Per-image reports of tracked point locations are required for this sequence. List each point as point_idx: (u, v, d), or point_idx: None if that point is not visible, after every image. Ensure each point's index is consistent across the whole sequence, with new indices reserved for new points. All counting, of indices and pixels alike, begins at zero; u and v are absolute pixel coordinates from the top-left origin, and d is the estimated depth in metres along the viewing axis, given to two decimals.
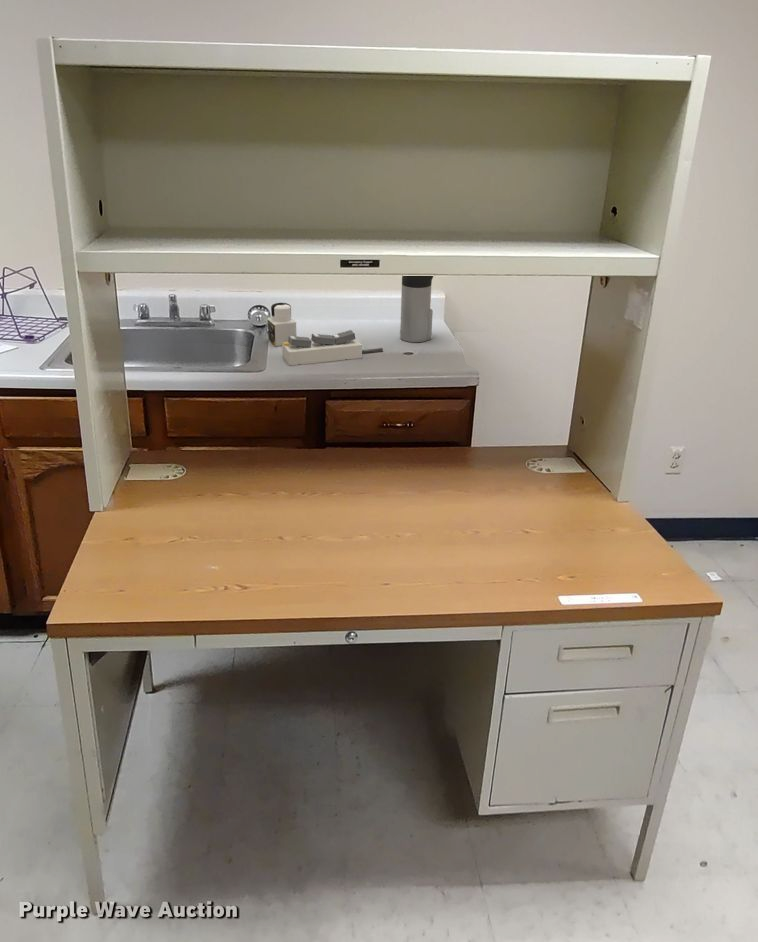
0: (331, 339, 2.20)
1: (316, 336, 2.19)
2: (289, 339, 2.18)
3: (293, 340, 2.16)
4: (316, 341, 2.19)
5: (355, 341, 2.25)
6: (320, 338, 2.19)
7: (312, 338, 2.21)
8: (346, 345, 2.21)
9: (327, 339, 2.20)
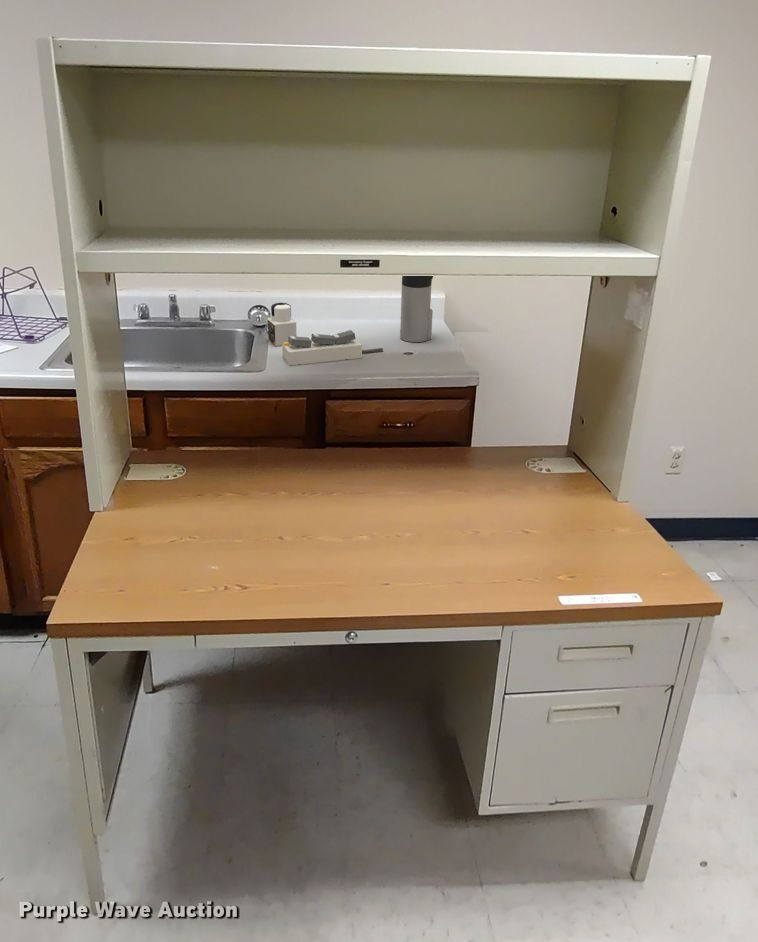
0: (331, 339, 2.20)
1: (316, 336, 2.19)
2: (289, 339, 2.18)
3: (293, 340, 2.16)
4: (316, 341, 2.19)
5: (355, 341, 2.25)
6: (320, 338, 2.19)
7: (312, 338, 2.21)
8: (346, 345, 2.21)
9: (327, 339, 2.20)
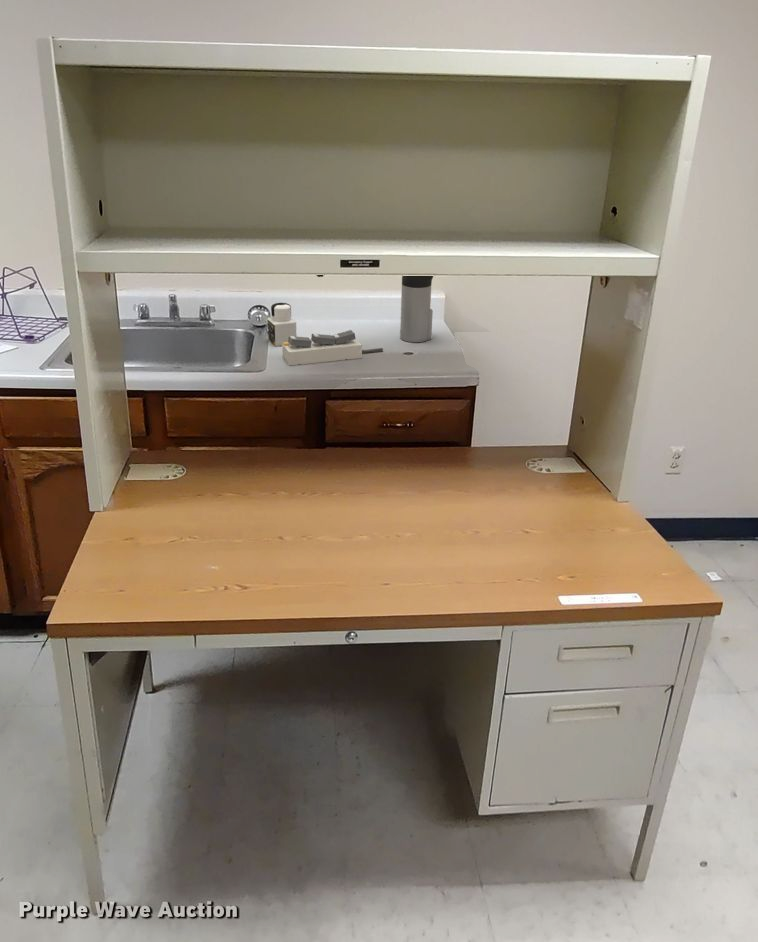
0: (331, 339, 2.20)
1: (316, 336, 2.19)
2: (289, 339, 2.18)
3: (293, 340, 2.16)
4: (316, 341, 2.19)
5: (355, 341, 2.25)
6: (320, 338, 2.19)
7: (312, 338, 2.21)
8: (346, 345, 2.21)
9: (327, 339, 2.20)
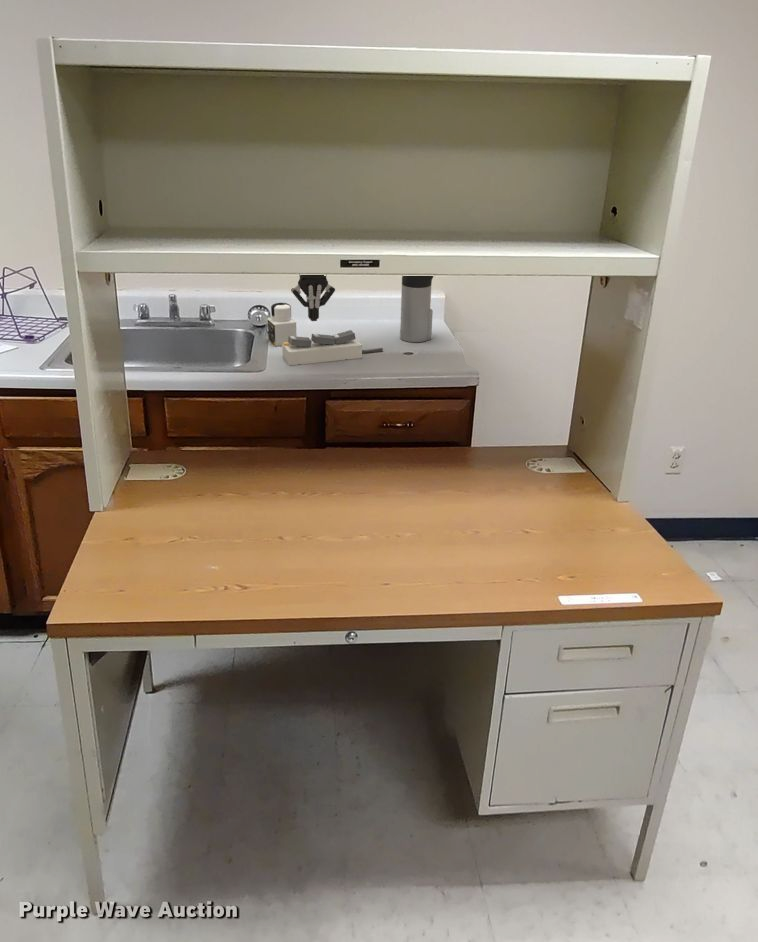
0: (331, 339, 2.20)
1: (316, 336, 2.19)
2: (289, 339, 2.18)
3: (293, 340, 2.16)
4: (316, 341, 2.19)
5: (355, 341, 2.25)
6: (320, 338, 2.19)
7: (312, 338, 2.21)
8: (346, 345, 2.21)
9: (327, 339, 2.20)
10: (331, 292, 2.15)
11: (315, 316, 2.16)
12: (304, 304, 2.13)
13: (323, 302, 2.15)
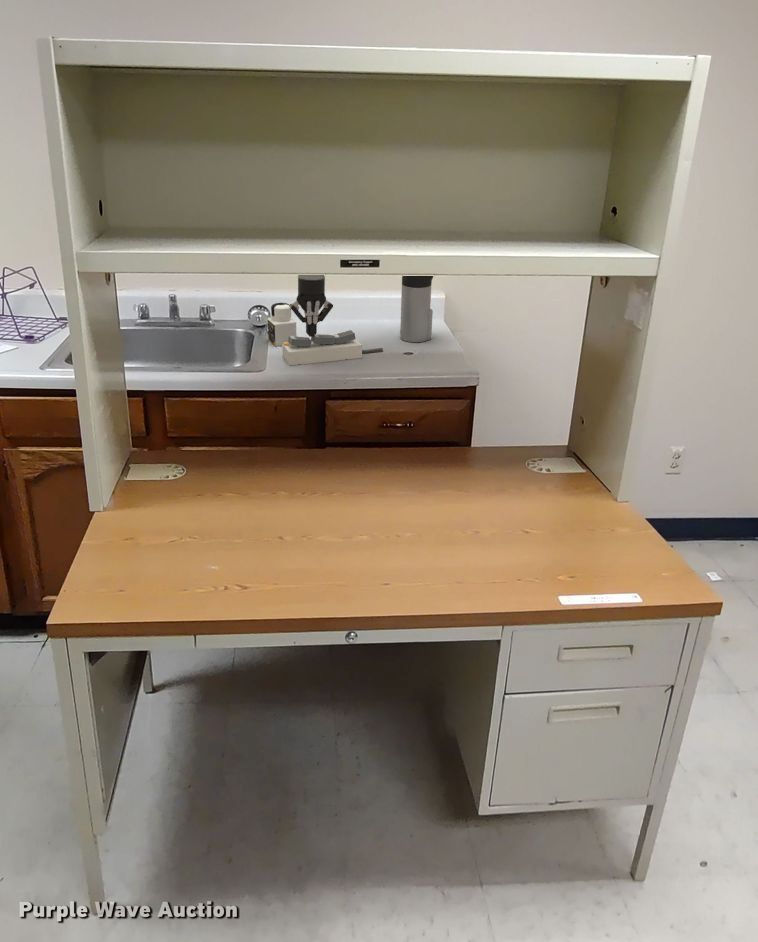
0: (331, 339, 2.20)
1: (316, 336, 2.19)
2: (289, 339, 2.18)
3: (293, 340, 2.16)
4: (316, 341, 2.19)
5: (355, 341, 2.25)
6: (320, 338, 2.19)
7: (312, 338, 2.21)
8: (346, 345, 2.21)
9: (327, 339, 2.20)
10: (329, 308, 2.17)
11: (313, 332, 2.18)
12: (302, 320, 2.15)
13: (321, 318, 2.17)
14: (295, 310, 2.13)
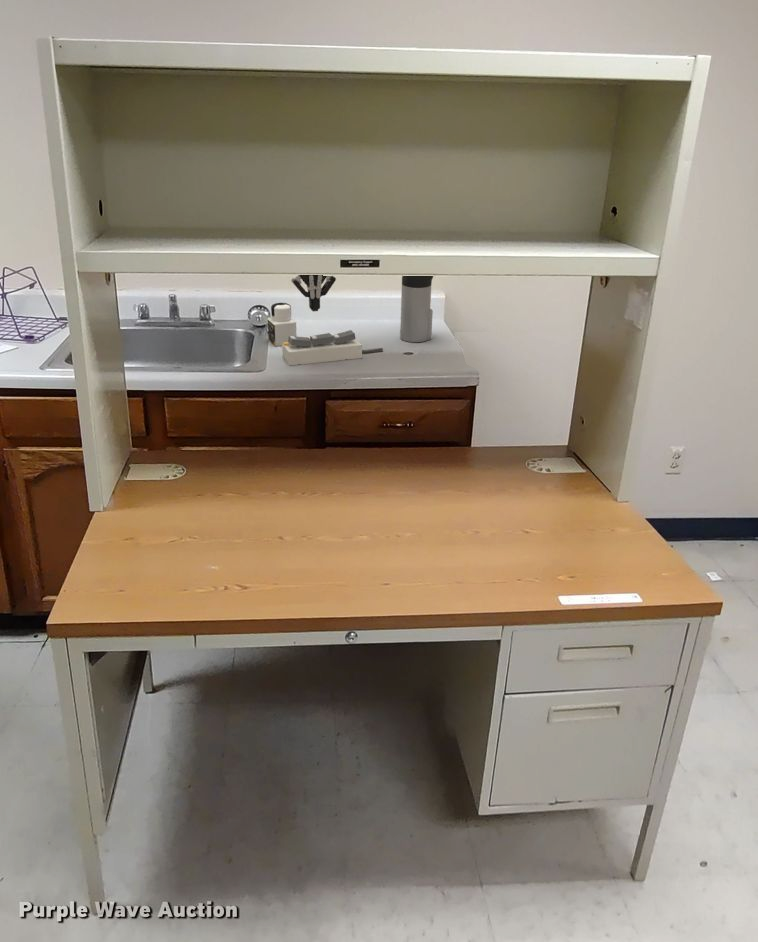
0: (329, 337, 2.20)
1: (314, 338, 2.19)
2: (289, 339, 2.18)
3: (293, 340, 2.16)
4: (315, 343, 2.19)
5: (355, 341, 2.25)
6: (318, 339, 2.19)
7: (311, 340, 2.21)
8: (346, 345, 2.21)
9: (325, 338, 2.20)
10: (332, 281, 2.13)
11: (316, 306, 2.15)
12: (305, 294, 2.12)
13: (324, 292, 2.14)
14: (297, 284, 2.10)
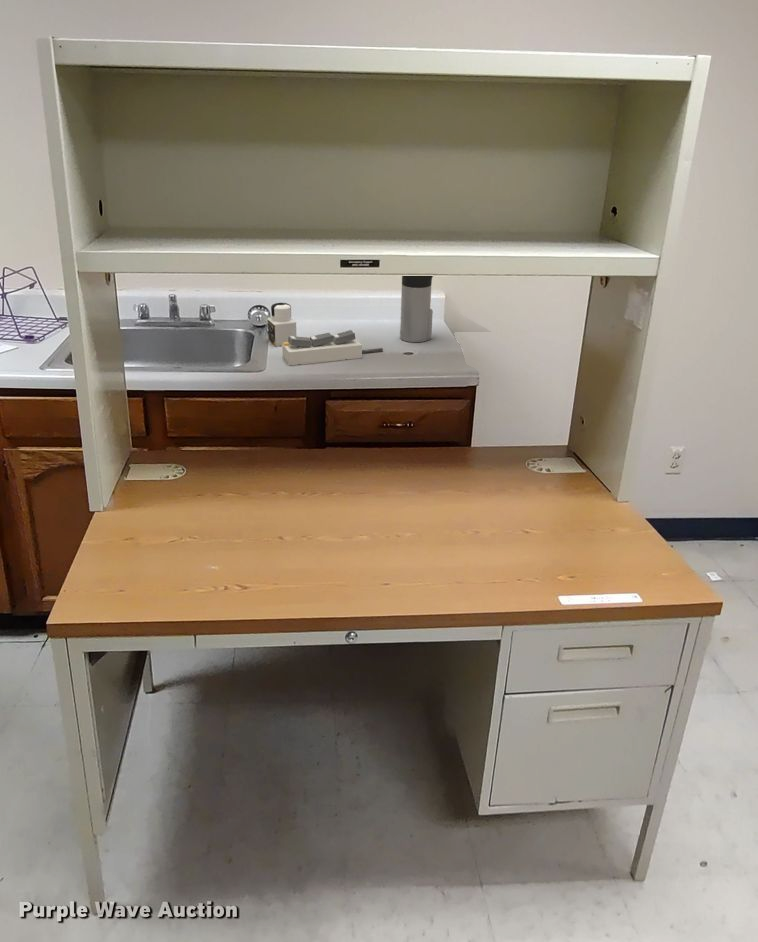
0: (329, 337, 2.20)
1: (313, 339, 2.19)
2: (289, 339, 2.18)
3: (293, 340, 2.16)
4: (315, 344, 2.19)
5: (355, 341, 2.25)
6: (318, 340, 2.19)
7: None
8: (346, 345, 2.21)
9: (325, 338, 2.19)
10: None
11: None
12: None
13: None
14: None
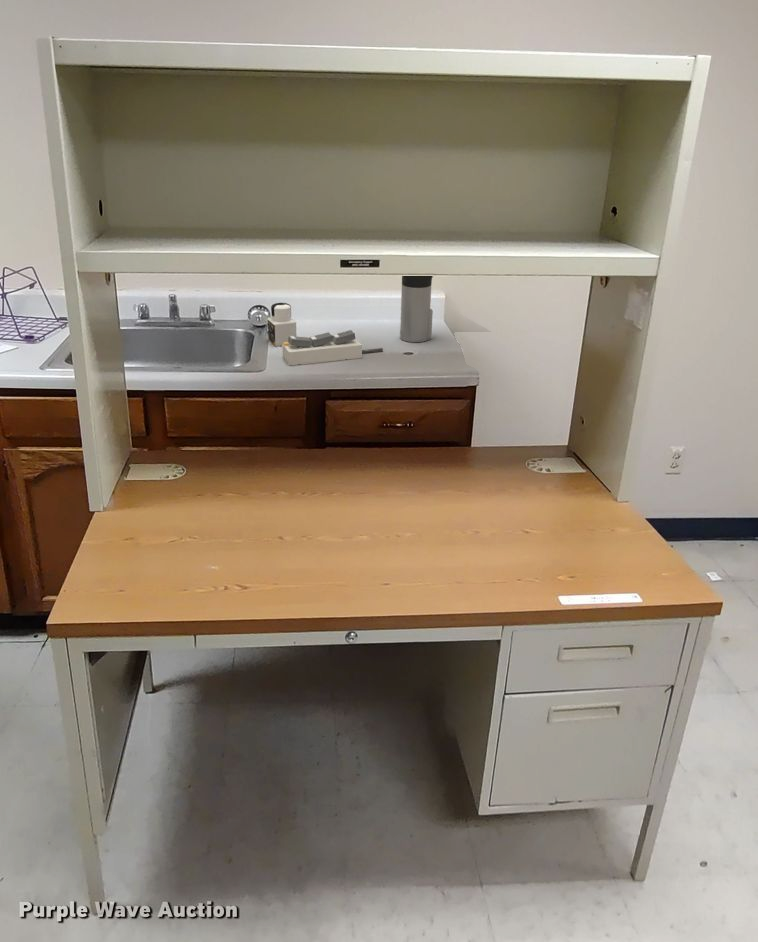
0: (329, 337, 2.20)
1: (313, 339, 2.19)
2: (289, 339, 2.18)
3: (293, 340, 2.16)
4: (315, 344, 2.19)
5: (355, 341, 2.25)
6: (318, 340, 2.19)
7: None
8: (346, 345, 2.21)
9: (325, 338, 2.19)
10: None
11: None
12: None
13: None
14: None
